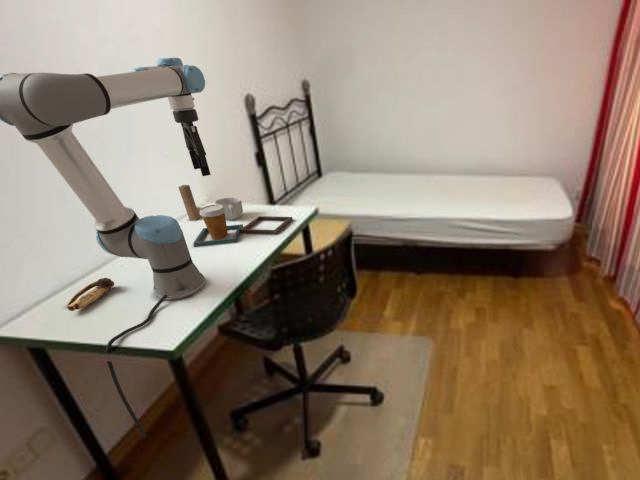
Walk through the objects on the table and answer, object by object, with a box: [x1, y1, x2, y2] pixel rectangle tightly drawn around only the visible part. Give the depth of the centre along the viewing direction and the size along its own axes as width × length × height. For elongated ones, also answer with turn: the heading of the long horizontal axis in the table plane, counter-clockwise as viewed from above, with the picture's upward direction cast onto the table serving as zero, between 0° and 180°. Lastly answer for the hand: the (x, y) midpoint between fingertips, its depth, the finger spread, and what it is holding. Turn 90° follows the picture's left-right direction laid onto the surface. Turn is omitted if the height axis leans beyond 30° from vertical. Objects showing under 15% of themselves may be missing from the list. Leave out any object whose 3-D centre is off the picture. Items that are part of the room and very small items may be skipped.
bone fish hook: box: [66, 277, 115, 312], centre depth 142 cm, size 9×5×18 cm
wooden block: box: [178, 184, 202, 221], centre depth 200 cm, size 7×3×15 cm, turn 169°
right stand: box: [240, 215, 294, 235], centre depth 190 cm, size 16×16×2 cm
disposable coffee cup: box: [199, 204, 229, 240], centre depth 180 cm, size 10×10×12 cm
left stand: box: [192, 223, 244, 247], centre depth 183 cm, size 16×16×2 cm
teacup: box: [214, 197, 244, 221], centre depth 199 cm, size 14×11×8 cm
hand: (202, 172), depth 166 cm, fingers open, 13 cm apart
